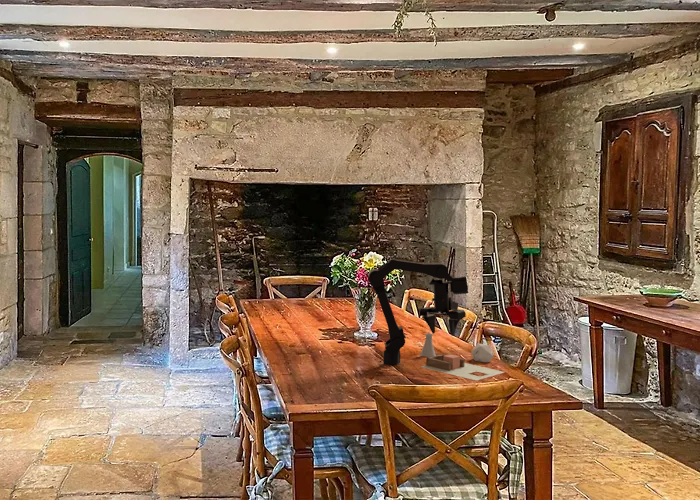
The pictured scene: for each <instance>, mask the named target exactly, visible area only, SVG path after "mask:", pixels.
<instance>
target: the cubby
mask: <svg viewBox="0 0 700 500" xmlns="http://www.w3.org/2000/svg"><path fill="white" fill-rule="evenodd" d="M446 355H447V354H443V353H440V354H438V355H437V354H436V356H433V357H426V359H425V360H426V361H425V364H426V365H425V366H431V367H435V368H439V369H443V370H447V371H450V370H451V363H450V362H446V361H443V358H444V356H446ZM464 363H466V362H465V358H461V357H460V367H464Z"/></svg>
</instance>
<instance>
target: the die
mask: <svg viewBox="0 0 700 500" xmlns="http://www.w3.org/2000/svg"><path fill="white" fill-rule="evenodd" d="M470 353H471V356H472V358H473V360H474V362H478V363H490V362H491V360H492V359H493V358H494V357H495V356H494V353H493V351H492V347H491V345H490V344H485V343H477V344H476V345H475V346H474V347H473V348H472V349H471V351H470Z"/></svg>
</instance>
